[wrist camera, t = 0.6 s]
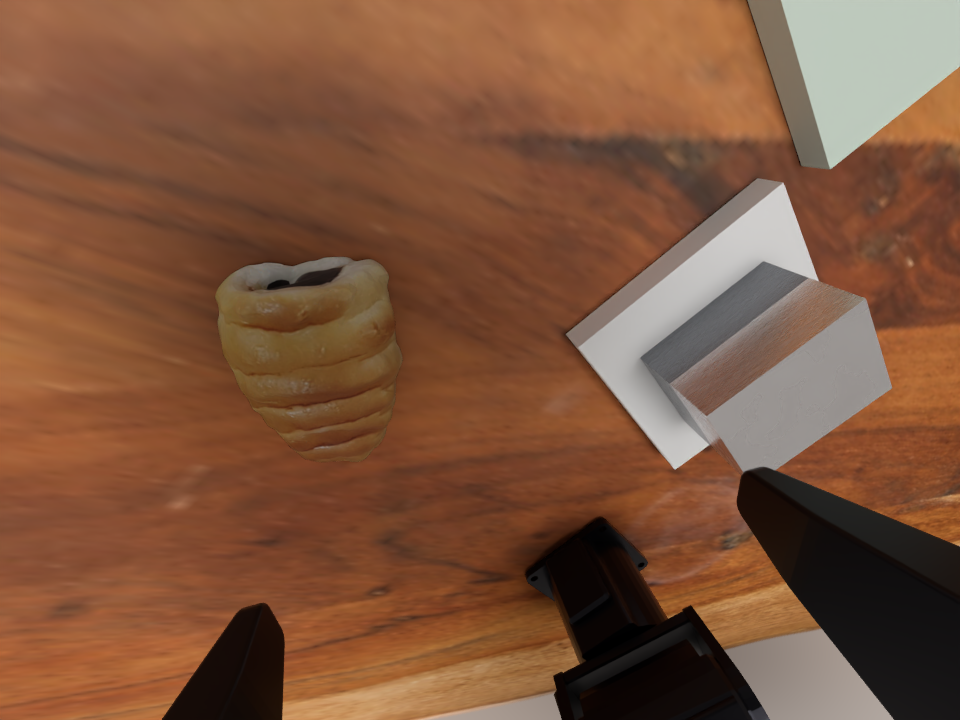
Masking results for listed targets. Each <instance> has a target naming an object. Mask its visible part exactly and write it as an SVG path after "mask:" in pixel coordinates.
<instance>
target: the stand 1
mask: <svg viewBox="0 0 960 720" xmlns="http://www.w3.org/2000/svg"><path fill="white" fill-rule="evenodd" d="M763 261H764V262H767V263H770V264H773V265H775V266H778V267H781V268H783V269H786V270H789V271H792V272H794V273H797V274H800V275H803V276H805V277H808V278H811V279H813V280H816V281H818V278H817V275H816V273H815V270H814V267H813V264H812V261H811V259H810V256H809V253H808V250H807V247H806V245H805V242H804V239H803V236H802V233H801V231H800V228H799V225H798V222H797V219H796V216H795V214H794V211H793V208H792V205H791V202H790V200H789V197H788V194H787V191H786V188H785V186H784V183H783V182H777V181H770V180H764V179H758V178H757V179H756V180H755V181H753V182H752V183H751V184H750V185H749V186H747V187H746V188H745V189H744V190H742V191H741V192H740V193H739V194H737V195H736V196H735V197H734V198H733V199H731V200H730V201H729V202H728V203H726V204H725V205H724V206H723V207H721V208H720V209H719V210H718V211H717V212H715V213H714V214H713V215H712V216H710V217H709V218H708V219H707V220H705V221H704V222H703V223H702V224H701V225H699V226H698V227H697V228H696V229H694V230H693V231H692V232H691V233H690V234H688V235H687V236H686V237H685V238H683V239H682V240H681V241H680V242H678V243H677V244H676V245H675V246H674V247H672V248H671V249H670V250H669V251H667V252H666V253H665V254H664V255H662V256H661V257H660V258H659V259H658V260H656V261H655V262H654V263H653V264H651V265H650V266H649V267H648V268H646V269H645V270H644V271H643V272H642V273H640V274H639V275H638V276H637V277H635V278H634V279H633V280H632V281H630V282H629V283H628V284H627V285H626V286H624V287H623V288H622V289H621V290H619V291H618V292H617V293H616V294H614V295H613V296H612V297H611V298H610V299H608V300H607V301H606V302H605V303H603V304H602V305H601V306H600V307H598V308H597V309H596V310H595V311H594V312H592V313H591V314H590V315H589V316H587V317H586V318H585V319H584V320H582V321H581V322H580V323H579V324H578V325H576V326H575V327H574V328H573V329H571V330H570V331H569V332H568V333H566V336H567V337H568V338H569V339H570V341H571V342H572V343H573V344H574V346H575V347H576V348H577V349H578V351H579V352H580V353H581V354H582V356H583V357H584V358H585V359H586V361H587V362H588V363H589V364H590V366H591V367H592V368H593V369H594V371H595V372H596V373H597V374H598V376H599V377H600V378H601V379H602V381H603V382H604V383H605V384H606V386H607V387H608V388H609V389H610V391H611V392H612V393H613V394H614V396H615V397H616V398H617V399H618V401H619V402H620V403H621V404H622V406H623V407H624V408H625V409H626V411H627V412H628V413H629V414H630V416H631V417H632V418H633V419H634V421H635V422H636V423H637V424H638V426H639V427H640V428H641V429H642V431H643V432H644V433H645V434H646V436H647V437H648V438H649V439H650V441H651V442H652V443H653V445H654V446H655V447H656V448H657V450H658V451H659V452H660V453H661V454H662V456H663V457H664V458H665V459H666V460H667V461H668V462H669V464H670V465H671V466H672V467H673V468H674V469H677V468H678V467H680V466H681V465H682V464H684V463H685V462H686V461H688V460H689V459H691V458H692V457H693V456H695V455H696V454H697V453H699V452H700V451H701V450H703V449H704V448H706V447H707V446H708V445H709V444H708V443H707V442H706V441H705V440H704V439H703V438H701V437H700V436H699V435H698V434H697V433H696V432H695V431H694V430H693V429H692V428H691V427H690V426H689V425H688V424H687V423H686V422H685V421H684V420H683V418H682V417H681V415H680V414H679V413H678V411H677V410H676V408H675V407H674V406H673V404H672V403H671V401H670V400H669V398H668V397H667V396H666V394H665V393H664V391H663V390H662V388H661V387H660V386H659V384H658V383H657V381H656V380H655V379H654V377H653V376H652V374H651V373H650V371H649V370H648V369H647V367H646V366H645V364H644V363H643V361H642V360H641V359H640V357H641V356H643V355H644V354H645V353H647V352H648V351H649V350H650V349H652V348H653V347H654V346H655V345H657V344H658V343H659V342H661V341H662V340H663V339H664V338H666V337H667V336H668V335H670V334H671V333H672V332H673V331H675V330H676V329H677V328H679V327H680V326H681V325H682V324H684V323H685V322H686V321H688V320H689V319H690V318H691V317H693V316H694V315H695V314H696V313H698V312H699V311H700V310H702V309H703V308H704V307H705V306H707V305H708V304H709V303H711V302H712V301H713V300H714V299H716V298H717V297H718V296H720V295H721V294H722V293H723V292H725V291H726V290H727V289H728V288H730V287H731V286H732V285H734V284H735V283H736V282H737V281H739V280H740V279H741V278H743V277H744V276H745V275H746V274H748V273H749V272H750V271H752V270H753V269H754V268H755V267H757V266H758V265H759V264H761V263H762V262H763Z"/></svg>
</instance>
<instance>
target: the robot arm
mask: <svg viewBox="0 0 960 720" xmlns="http://www.w3.org/2000/svg"><path fill="white" fill-rule="evenodd" d="M737 507H738V510H739V512H740V514H741V516H742V517H743V519H744V520H745V522H746V523H747V525H748V526H749V528H750V529H751V531H752V532H753V534H754V535H755V537H756V538H757V540H758V541H759V543H760V544H761V546H762V547H763V549H764V551H765V552H766V554H767V555H768V557H769V558H770V560H771V561H772V563H773V564H774V566H775V567H776V569H777V570H778V572H779V573H780V575H781V576H782V578H783V579H784V580H785V582H786V583H787V585H788V586H789V588H790V589H791V590H792V591H793V593H794V594H795V595H796V597H797V598H798V599H799V601H800V602H801V603H802V604H803V606H804V607H805V608H806V609H807V611H808V612H809V613H810V614H811V616H812V617H813V618H814V619H815V621H816V622H817V623H818V624H819V626H820V627H821V628H822V629H823V630H824V632H825V633H826V634H827V636H828V637H829V638H830V640H831V641H832V642H833V643H834V645H835V646H836V647H837V648H838V650H839V651H840V652H841V653H842V655H843V656H844V657H845V658H846V660H847V661H848V662H849V663H850V665H851V666H852V667H853V668H854V670H855V671H856V672H857V673H858V675H859V676H860V677H861V679H862V680H863V681H864V682H865V684H866V685H867V686H868V687H869V688H870V690H871V691H872V692H873V694H874V695H875V696H876V697H877V698H878V700H879V701H880V702H881V704H882V705H883V706H884V707H885V709H886V710H887V711H888V712H889V713H890V715H891V716H892V717H893V719H894V720H960V546H957V545H955V544H952V543H950V542H947V541H945V540H943V539H940V538H938V537H935V536H933V535H931V534H928V533H926V532H923V531H921V530H918V529H916V528H914V527H911V526H909V525H906V524H904V523H901V522H899V521H897V520H894V519H892V518H889V517H887V516H885V515H882V514H880V513H877V512H875V511H872V510H870V509H868V508H865V507H863V506H860V505H858V504H855V503H853V502H851V501H848V500H846V499H843V498H841V497H838V496H836V495H834V494H831V493H829V492H826V491H824V490H822V489H819V488H817V487H814V486H812V485H809V484H807V483H805V482H802V481H800V480H797V479H795V478H792V477H790V476H788V475H785V474H783V473H780V472H778V471H776V470H773V469H771V468H768V467H757V468H753V469H750V470H746V471H744V472H743V473H742V475H741V479H740V485H739V490H738V496H737ZM647 564H648V562H647V560H646V558H645V557H644V555H642V554H641V553H640V552H639V551H638V550H637V549H636V548H635V547H634V546H633V545H632V544H631V543H630V542H629V541H628V540H627V539H626V538H625V537H624V536H623V535H621V534H620V533H619V532H618V531H617V530H616V529H615V528H614V527H613V526H612V525H611V524H610V523H609V522H608V521H607V520H606V519H598V520H597V521H595V522H594V523H592V524H591V525H590V526H588V527H587V528H585V529H584V530H583V531H581V532H580V533H579V534H577V535H576V536H574V537H573V538H572V539H570V540H569V541H568V542H566V543H565V544H564V545H562V546H561V547H559V548H558V549H557V550H555V551H554V552H553V553H551V554H550V555H548V556H547V557H546V558H544V559H543V560H542V561H540V562H539V563H538V564H536V565H535V566H533V567H532V568H531V569H529V570H528V571H527V572H526V574H525V577H526V580H527V582H528V583H529V584H530V585H532V586H533V587H535V588H536V589H538V590H539V591H540V592H542V593H543V594H545V595H546V596H548V597H549V598H551V599H552V600H553V601H555V602H556V605H557V608H558V610H559V613H560V615H561V618H562V620H563V623H564V625H565V628H566V630H567V633H568V635H569V638H570V640H571V643H572V646H573V648H574V651H575V653H576V656H577V658H578V661H579V663H580V664H579V665H577V666H576V667H574V668H572V669H570V670H568V671H566V672H564V673H563V672H560V673H558V674H556V675H554V676H553V677H554V681H555V685H556V689H557V690H556V692H555V694H554V696H555V699H556V703H557V706H558V708H559V712H560V715H561V718H562V720H770V719H769V717H768V715H767V714H766V712H765V710H764V709H763V707H762V705H761V704H760V702H759V701H758V699H757V698H756V696H755V694H754V693H753V691H752V689H751V688H750V686H749V685H748V683H747V682H746V680H745V679H744V677H743V676H742V674H741V673H740V672H739V670H738V669H737V667H736V666H735V665H734V663H733V662H732V661H731V659H730V658H729V656H728V655H727V654H726V652H725V651H724V650H723V648H722V647H721V645H720V644H719V643H718V641H717V640H716V639H715V637H714V636H713V635H712V633H711V632H710V630H709V629H708V628H707V626H706V625H705V624H704V622H703V621H702V620H701V618H700V617H699V615H698V614H697V613H696V611H695V610H694V609H693V607H692V606H691V605H690V606H688V607H686V608H684V609H682V610H683V611H682V612H680V613H679V614H677V615H675V616H673V617H671V618H669V619H668V618H667V616H666V614H665V613H664V611H663V609H662V608H661V606H660V605H659V603H658V601H657V600H656V598H655V596H654V595H653V593H652V591H651V590H650V588H649V586H648V585H647V583H646V581H645V580H644V578H643V576H642V575H641V573H640V571H641V570H642V569H644V568H645V567H646V566H647ZM284 648H285V642H284V634H283V631H282V628H281V627H280V625H279V623H278V621H277V620H276V618H275V616H274V614H273V612H272V611H271V609H270V607H269V606H268V605H267V604H266V603H259V604H255V605H252V606H248V607H245V608H242V609H241V610H239V611H238V612H237V613H236V615H235V616H234V617H233V619H232V620H231V622H230V623H229V624H228V626H227V627H226V629H225V630H224V632H223V633H222V634H221V636H220V637H219V639H218V640H217V641H216V643H215V644H214V646H213V647H212V649H211V650H210V651H209V653H208V654H207V656H206V657H205V659H204V660H203V661H202V663H201V664H200V666H199V667H198V669H197V670H196V671H195V673H194V674H193V676H192V677H191V678H190V680H189V681H188V683H187V684H186V686H185V687H184V688H183V690H182V691H181V693H180V694H179V696H178V697H177V698H176V700H175V701H174V703H173V704H172V706H171V707H170V708H169V710H168V711H167V713H166V714H165V716H164V717H163V718H162V720H282V709H283V678H284Z"/></svg>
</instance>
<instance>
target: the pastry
mask: <svg viewBox="0 0 960 720" xmlns="http://www.w3.org/2000/svg"><path fill="white" fill-rule="evenodd" d="M388 281H389V275H388V273H387V272H386V270H385V269H384V267H383V266H382V265H381V264H379V263H378V262H376V261H374V260H372V259H366V260H361V261H354V260H352V259H351V258H348V257H325V258H322V259H319V260H316V261H308V262H305V263H301V264H298V265H296V266H287V265H282V264H278V263H262V264H257V265H247V266H245V267H243V268H241V269H239V270H237V271H235V272H234V273H232V274H231V275H229V276H228V277H227V278H226V279H225V280H224V281H223V283H222V284H221V285H220V286H219V288H218V289H217V292H216V295H215V299H216V301H217V303H218V308H219V318H218V331H219V336H220V339H221V343H222V350H223V355H224V357H225V359H226V360H227V362H228V364H229V365H230V367H231V369H232V371H233V372H234V374H235V377H236V381H237V383H238V386H239V388H240V390H241V391H242V392H243V394H244V395H245V396H246V397H247V399H248V400H249V402H250V405H251V407H252V408H253V410H254V411H256V412H258V413H259V414H260V415H261V416H262V417H263V420H264V421H265V422H266V424H267V425H268V426H269V427H270V428H272V429H274V430H276V431H277V432H278V434H279V435H280V436H281V437H282V438H283V439H284V440H285V441H286V443H287V444H288V445H289V447H291V448H292V449H293V450H295V451H296V452H297V453H298V454H299V455H301V456H302V457H303V458H304V459H307V460H311V461H315V462H336V461H344V460H346V461H351V462H360V461H362V460H364V459H365V458H366V457H367V456H368V455H369V454H370V453H371V451H372V450H373V449H374V448H376V447H377V446H378V445H379V444H380V443H381V441H382V439H383V438H384V436H385V433H386V428H387V425H388V423H389V421H390V420H391V417H392V409H393V406H394V403H395V393H396V377H397V374H398V372H399V369H400V366H401V364H402V361H403V358H402V354H401V350H400V348H399V346H398V345H397V343H396V335H395V317H394V313H393V308H392V305H391V303H390V298H389V293H388V289H387V286H388Z"/></svg>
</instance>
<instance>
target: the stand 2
mask: <svg viewBox="0 0 960 720" xmlns="http://www.w3.org/2000/svg"><path fill="white" fill-rule="evenodd" d="M747 1H748V4H749V7H750V10H751V13H752V16H753V19H754V22H755V25H756V28H757V31H758V34H759V38H760V41H761V44H762V47H763V50H764V53H765V56H766V59H767V62H768V65H769V68H770V71H771V74H772V77H773V80H774V83H775V87H776V90H777V93H778V96H779V99H780V102H781V105H782V108H783V111H784V114H785V117H786V120H787V123H788V126H789V129H790V133H791V136H792V139H793V142H794V145H795V148H796V151H797V154H798V157H799V160H800V163H801V166H805V167H814V168H822V169H831V168H833V167H834V166H835V165H836V164H838V163H839V162H840V161H841V160H843V159H844V158H845V157H846V156H848V155H849V154H850V153H851V152H853V151H854V150H855V149H856V148H858V147H859V146H860V145H862V144H863V143H864V142H865V141H867V140H868V139H869V138H870V137H872V136H873V135H874V134H875V133H877V132H878V131H879V130H880V129H882V128H883V127H884V126H885V125H887V124H888V123H889V122H890V121H892V120H893V119H894V118H895V117H897V116H898V115H899V114H901V113H902V112H903V111H904V110H906V109H907V108H908V107H909V106H911V105H912V104H913V103H914V102H916V101H917V100H918V99H919V98H921V97H922V96H923V95H924V94H926V93H927V92H928V91H929V90H931V89H932V88H933V87H934V86H936V85H937V84H938V83H939V82H941V81H942V80H943V79H945V78H946V77H947V76H948V75H950V74H951V73H952V72H953V71H955V70H956V69H957V68H958V67H960V0H747Z"/></svg>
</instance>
